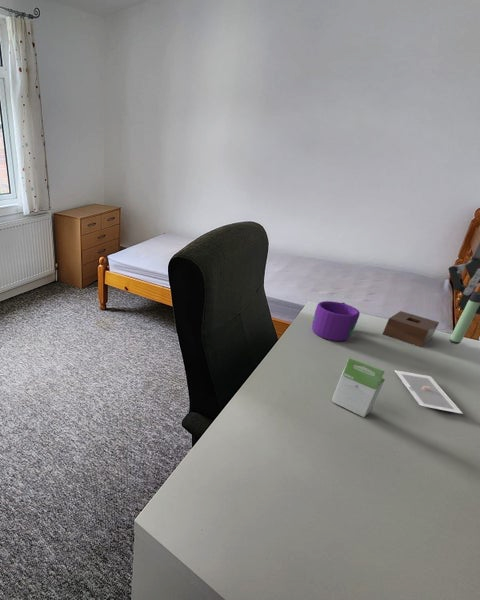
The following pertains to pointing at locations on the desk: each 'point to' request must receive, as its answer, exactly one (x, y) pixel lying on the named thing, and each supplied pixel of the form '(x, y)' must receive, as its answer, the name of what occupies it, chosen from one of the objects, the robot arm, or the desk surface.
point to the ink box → (358, 387)
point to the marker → (466, 318)
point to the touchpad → (427, 391)
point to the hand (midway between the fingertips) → (470, 310)
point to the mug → (334, 320)
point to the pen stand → (410, 328)
